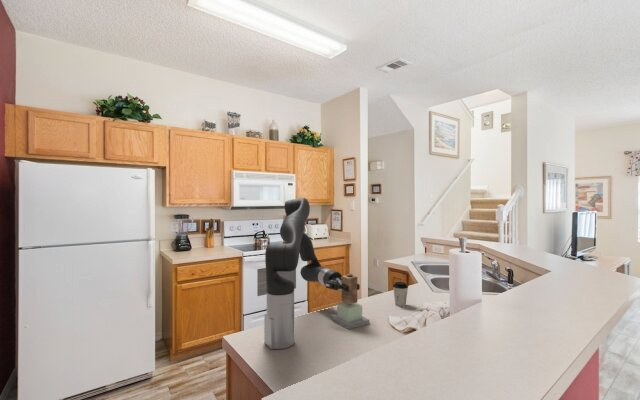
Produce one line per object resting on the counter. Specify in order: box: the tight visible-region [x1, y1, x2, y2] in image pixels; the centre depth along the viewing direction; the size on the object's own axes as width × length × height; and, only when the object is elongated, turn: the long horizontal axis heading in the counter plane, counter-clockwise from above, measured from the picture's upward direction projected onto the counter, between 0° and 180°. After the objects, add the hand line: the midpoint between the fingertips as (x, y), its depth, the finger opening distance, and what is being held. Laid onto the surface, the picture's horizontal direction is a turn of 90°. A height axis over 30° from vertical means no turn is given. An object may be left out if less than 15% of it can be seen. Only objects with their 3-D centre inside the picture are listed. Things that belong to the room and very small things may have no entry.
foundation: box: [330, 301, 370, 330], centre depth 121 cm, size 10×12×6 cm
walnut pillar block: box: [341, 273, 358, 304], centre depth 121 cm, size 4×4×11 cm
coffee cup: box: [392, 281, 409, 308], centre depth 139 cm, size 7×7×10 cm
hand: (353, 288), depth 119 cm, fingers closed on walnut pillar block, 4 cm apart
